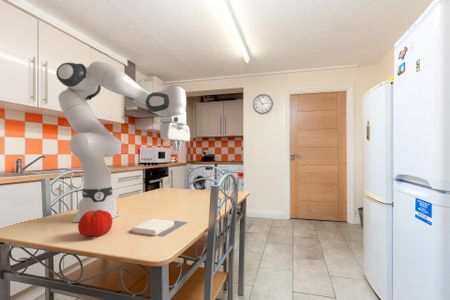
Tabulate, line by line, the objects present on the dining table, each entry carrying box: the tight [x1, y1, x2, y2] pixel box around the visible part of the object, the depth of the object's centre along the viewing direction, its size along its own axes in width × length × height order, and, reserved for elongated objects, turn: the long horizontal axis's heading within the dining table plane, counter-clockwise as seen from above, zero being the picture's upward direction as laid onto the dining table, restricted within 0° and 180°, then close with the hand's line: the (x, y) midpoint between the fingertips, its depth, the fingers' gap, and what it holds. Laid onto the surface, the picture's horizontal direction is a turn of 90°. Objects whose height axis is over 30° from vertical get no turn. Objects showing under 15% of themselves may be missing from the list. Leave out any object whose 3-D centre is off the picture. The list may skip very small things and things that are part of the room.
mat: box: [126, 218, 189, 238], centre depth 92 cm, size 18×16×1 cm
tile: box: [132, 218, 175, 237], centre depth 89 cm, size 2×10×12 cm
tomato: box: [77, 210, 113, 238], centre depth 83 cm, size 11×11×9 cm
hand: (176, 150), depth 106 cm, fingers closed
